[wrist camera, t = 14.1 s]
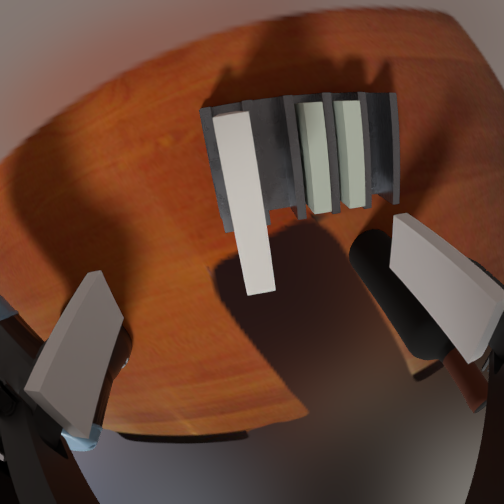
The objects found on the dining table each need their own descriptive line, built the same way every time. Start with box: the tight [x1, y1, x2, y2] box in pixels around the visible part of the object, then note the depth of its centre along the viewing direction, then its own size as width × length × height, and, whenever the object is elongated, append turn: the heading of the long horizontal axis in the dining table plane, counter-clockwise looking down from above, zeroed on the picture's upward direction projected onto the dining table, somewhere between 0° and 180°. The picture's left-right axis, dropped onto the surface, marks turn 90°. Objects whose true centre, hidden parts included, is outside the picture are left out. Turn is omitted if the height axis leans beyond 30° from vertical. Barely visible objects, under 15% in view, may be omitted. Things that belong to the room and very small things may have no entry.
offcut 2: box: [332, 101, 365, 208], centre depth 31 cm, size 2×12×6 cm, turn 9°
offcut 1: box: [294, 102, 332, 214], centre depth 30 cm, size 2×12×6 cm, turn 9°
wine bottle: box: [349, 229, 488, 413], centre depth 30 cm, size 8×8×30 cm
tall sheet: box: [213, 111, 275, 295], centre depth 25 cm, size 2×12×18 cm, turn 9°
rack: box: [199, 92, 400, 233], centre depth 32 cm, size 23×14×6 cm, turn 99°
